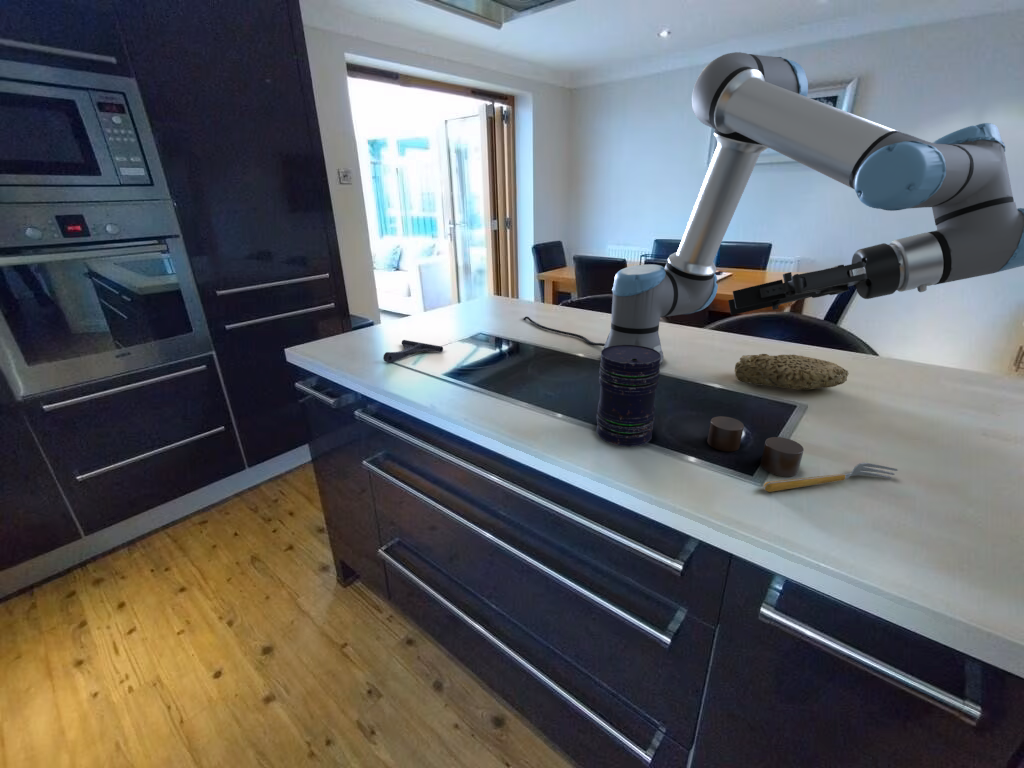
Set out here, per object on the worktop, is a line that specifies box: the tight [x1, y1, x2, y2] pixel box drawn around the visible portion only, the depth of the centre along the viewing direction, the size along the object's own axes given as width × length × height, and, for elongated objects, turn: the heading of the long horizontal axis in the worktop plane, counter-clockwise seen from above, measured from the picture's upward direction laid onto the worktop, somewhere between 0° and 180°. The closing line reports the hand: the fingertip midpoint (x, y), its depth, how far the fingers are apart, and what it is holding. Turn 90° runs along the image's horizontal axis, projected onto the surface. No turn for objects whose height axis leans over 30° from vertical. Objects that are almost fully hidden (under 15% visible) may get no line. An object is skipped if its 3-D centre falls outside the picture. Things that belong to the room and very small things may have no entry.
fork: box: [763, 462, 899, 493], centre depth 63 cm, size 2×2×20 cm
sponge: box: [733, 353, 849, 391], centre depth 95 cm, size 13×8×20 cm
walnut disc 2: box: [760, 436, 805, 478], centre depth 67 cm, size 5×5×4 cm
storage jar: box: [596, 345, 661, 448], centre depth 76 cm, size 10×10×15 cm
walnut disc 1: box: [706, 415, 745, 453], centre depth 74 cm, size 5×5×4 cm
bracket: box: [383, 339, 444, 364], centre depth 121 cm, size 14×15×3 cm
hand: (731, 304), depth 73 cm, fingers open, 13 cm apart
